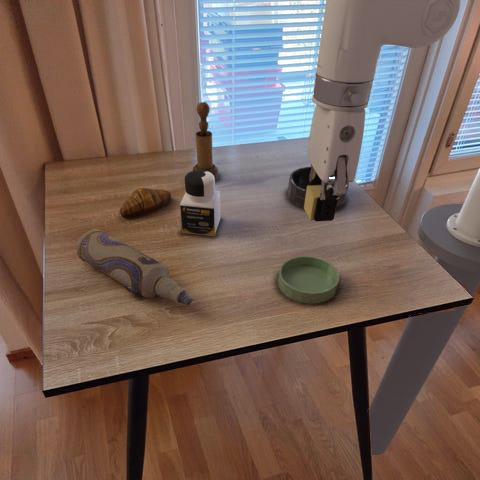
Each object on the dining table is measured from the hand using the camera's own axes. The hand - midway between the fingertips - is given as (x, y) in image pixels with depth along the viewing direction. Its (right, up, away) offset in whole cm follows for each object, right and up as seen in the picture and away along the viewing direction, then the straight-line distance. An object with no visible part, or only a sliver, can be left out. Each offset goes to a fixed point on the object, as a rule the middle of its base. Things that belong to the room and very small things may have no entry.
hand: (319, 211), depth 68 cm
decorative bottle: (-33, -11, +9) cm, 36 cm away
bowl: (+6, +12, +34) cm, 37 cm away
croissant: (-35, +8, +28) cm, 45 cm away
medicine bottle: (-21, +3, +23) cm, 32 cm away
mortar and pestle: (-22, +19, +40) cm, 49 cm away
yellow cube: (0, 0, 0) cm, 0 cm away
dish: (0, -11, +10) cm, 15 cm away
